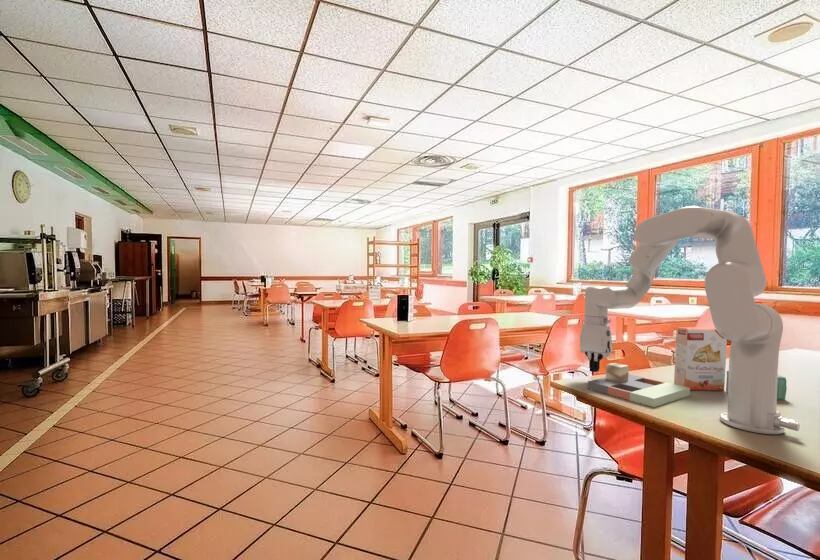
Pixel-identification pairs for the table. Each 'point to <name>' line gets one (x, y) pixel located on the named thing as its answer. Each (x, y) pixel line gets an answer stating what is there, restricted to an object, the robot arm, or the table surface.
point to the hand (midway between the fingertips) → (594, 371)
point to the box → (780, 387)
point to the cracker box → (700, 358)
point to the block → (617, 372)
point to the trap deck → (641, 390)
